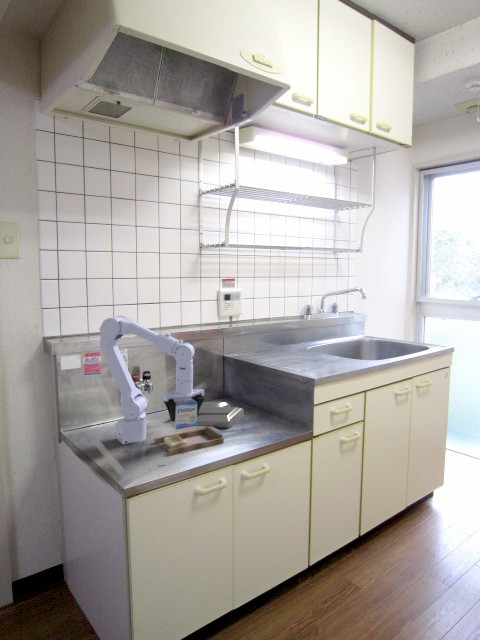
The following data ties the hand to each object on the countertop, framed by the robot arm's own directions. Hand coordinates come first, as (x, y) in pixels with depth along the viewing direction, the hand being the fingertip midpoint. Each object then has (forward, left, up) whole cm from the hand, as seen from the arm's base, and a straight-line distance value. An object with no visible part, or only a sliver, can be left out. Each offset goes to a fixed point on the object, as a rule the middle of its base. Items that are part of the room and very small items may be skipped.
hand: (183, 418), depth 147 cm
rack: (+1, -2, -9) cm, 10 cm away
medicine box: (0, 0, -3) cm, 3 cm away
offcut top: (-4, -2, -8) cm, 9 cm away
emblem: (+21, +20, -10) cm, 31 cm away
